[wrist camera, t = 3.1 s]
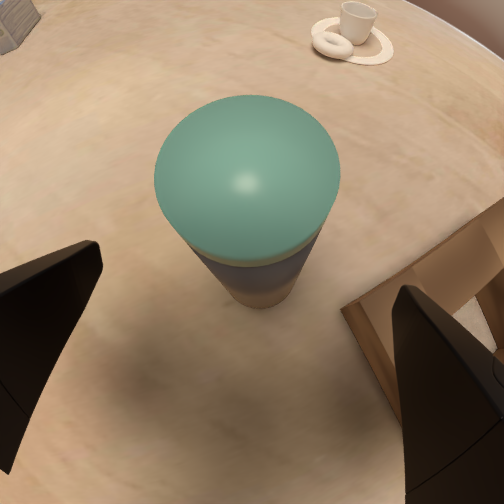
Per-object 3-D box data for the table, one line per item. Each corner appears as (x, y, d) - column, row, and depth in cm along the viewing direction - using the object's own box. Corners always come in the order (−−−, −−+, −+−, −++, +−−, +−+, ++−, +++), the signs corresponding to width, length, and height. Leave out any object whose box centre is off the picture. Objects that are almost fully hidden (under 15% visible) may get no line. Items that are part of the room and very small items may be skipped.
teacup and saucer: (322, 72, 22) (328, 36, 19) (290, 24, 25) (292, -9, 21) (407, 67, 23) (420, 36, 19) (368, 20, 25) (375, -8, 21)
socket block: (533, 356, 15) (568, 355, 11) (419, 464, 14) (448, 486, 10) (472, 219, 18) (503, 197, 14) (339, 309, 17) (359, 301, 13)
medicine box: (24, 25, 30) (3, -7, 22) (42, 17, 30) (22, -18, 22) (1, 56, 28) (-25, 23, 20) (18, 48, 28) (-7, 11, 20)
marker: (307, 287, 18) (376, 199, 6) (245, 321, 17) (199, 293, 6) (273, 228, 19) (279, 75, 7) (213, 259, 18) (132, 141, 7)
